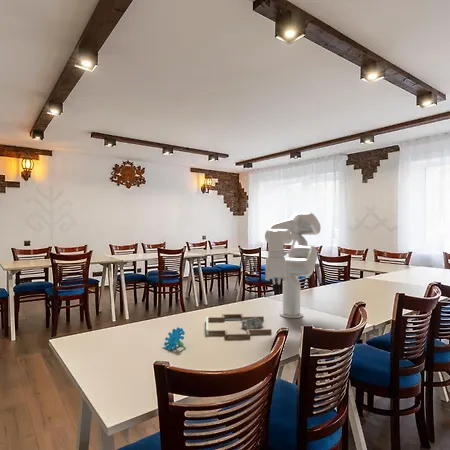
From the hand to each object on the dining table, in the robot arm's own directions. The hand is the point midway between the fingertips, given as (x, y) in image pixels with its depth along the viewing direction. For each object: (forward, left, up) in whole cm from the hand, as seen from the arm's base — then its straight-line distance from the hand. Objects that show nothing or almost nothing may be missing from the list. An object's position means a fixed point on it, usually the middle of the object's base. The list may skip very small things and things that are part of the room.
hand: (276, 292), depth 166 cm
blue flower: (+25, -47, -17) cm, 56 cm away
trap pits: (0, -19, -17) cm, 26 cm away
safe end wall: (0, -34, -17) cm, 38 cm away
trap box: (0, -19, -17) cm, 26 cm away
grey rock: (-1, -12, -18) cm, 21 cm away
